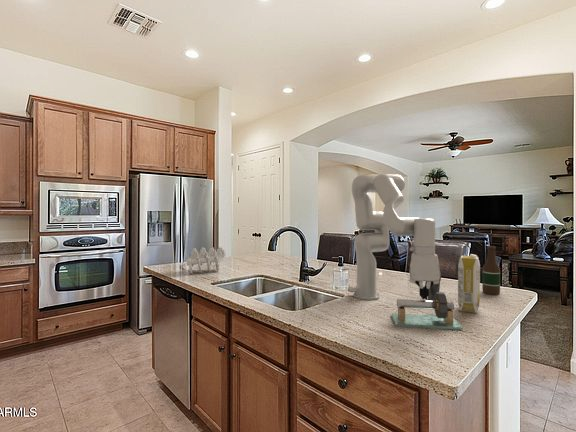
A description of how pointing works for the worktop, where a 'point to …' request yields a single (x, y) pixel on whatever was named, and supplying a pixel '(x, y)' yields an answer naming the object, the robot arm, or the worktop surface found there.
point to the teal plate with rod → (424, 320)
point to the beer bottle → (491, 273)
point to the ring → (441, 305)
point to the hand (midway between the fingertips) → (423, 298)
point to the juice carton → (469, 283)
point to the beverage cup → (434, 289)
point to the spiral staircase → (206, 258)
